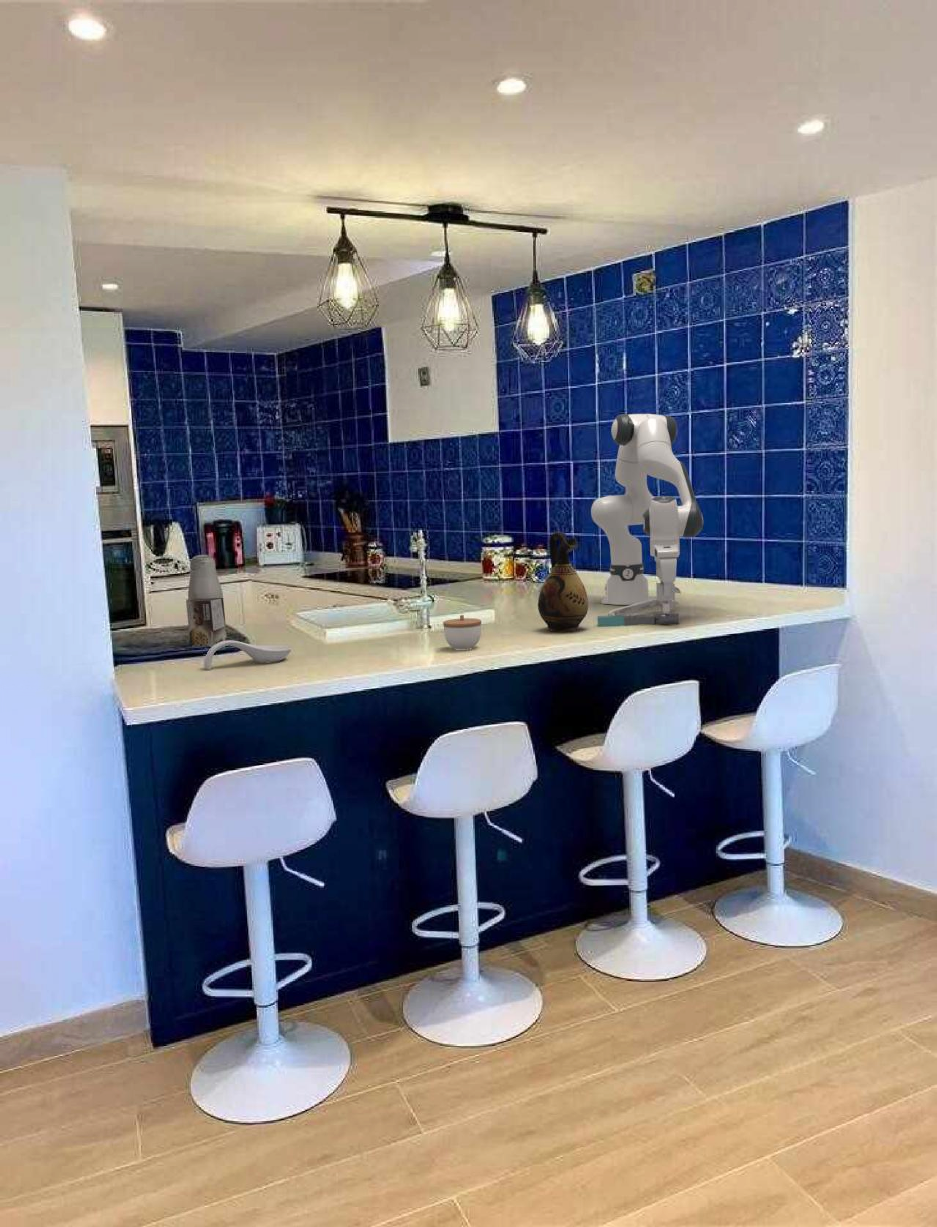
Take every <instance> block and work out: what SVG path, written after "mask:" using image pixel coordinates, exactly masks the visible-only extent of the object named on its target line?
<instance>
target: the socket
mask: <svg viewBox="0 0 937 1227" xmlns="http://www.w3.org/2000/svg"><path fill="white" fill-rule="evenodd" d="M675 587H676V584H675V582H674V583H671V588H670V596H665V595H664V584H663V583H661V582H657V583H656V587H655V588H656V597H657V600H658V601H676V593H675Z"/></svg>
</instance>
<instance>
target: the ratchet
mask: <svg viewBox="0 0 937 1227" xmlns="http://www.w3.org/2000/svg"><path fill="white" fill-rule="evenodd" d="M661 609H662V611H659V612H658V611H657V612H654V613H652V614H648V615H647V614H646V615H643V614H642V615H628V616H623V615H615V614H614V615H609V616H608V615H597V618H596V619H597V627H621V626H620V625H624V626H639V625H638V624H652V625H655V624H662V625H661V626H670V625H669V624H676V625H678V624H680V612H675V611H671V609H670V604H662V608H661Z"/></svg>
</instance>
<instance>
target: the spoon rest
mask: <svg viewBox="0 0 937 1227" xmlns="http://www.w3.org/2000/svg"><path fill="white" fill-rule="evenodd" d="M225 646H228V647H230V646H231V647H234V648H237V649H239V650H241V651H242V652H243V653H245V654H246V655H248V656H249V657H250V658H251V659H252V660H254V661H255V662H256V663H258V662H261V663H260V664H268V663H267V662H273V663H277V662H280V661H283V660H284V659H286V657H288V656H289V655H290V653H291V652H292V648H291V647H289V646H284V645H261V644H260V645H257V644H250V643H246V642H242V641H237V640H232V639H231V640H228V639H227V641H222V642H219V643H217V644H215V645H214V646H212V647H211V648H210V649H209V651H208V652H207V654H205V657H204V661H203V667H204V669H206V670H208V671H210V670H212V666H213V665H212V661H213V660H212V659H213V657H214V653H215V652H216V651H217V650H219V649H220V648H222V647H225Z"/></svg>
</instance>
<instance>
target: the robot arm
mask: <svg viewBox="0 0 937 1227" xmlns="http://www.w3.org/2000/svg"><path fill="white" fill-rule="evenodd" d="M610 432H611V436H612V440H613V442H614V443H615V444H617V445H618V446H619V447H618V451H617V456H616V457H617V459H616V464H615V471H614V479H615V480H616V482H617V483H618V484H619V485H620V486H621V487H624V488H625V493H624V494H619V495H607V496H606V495H605V496H604V497H600V498H597V499H595V500H594V501H593V503H592V505H591V509H590V514H591V516H590V517H591V519H592V521H593V522H594V523H595V524H596V525H597V526H598V527H599V528H601V530H602V531H603V532H604V533H605V535H606V537H607V540H608V542H609V549H610V565H609V574H610V577H609V578H607V580H606V583H605V585H604V590H605V595H606V596H605V597H604V598H603V599H602V600H601V604H603V605H604V604H606V605H618V606H619V605H620V606H621V605H624V606H629V605H633V604H636V603H640V602H644V601H647V600H651V599H654V598H653V597H650V595H649V594H650V593H649V579H648V578H647V577H645V575H644V572H645V571H644V569H645V568H644V563H643V552H642V549H643V548H642V547H643V546H642V542H641V541H640V539H639V538H637V537H636V536H634V535H631V533H630V531H629V528H628V526H637V525H638V526H639V525H642V526H643V528H642V532H644V534H646V535H647V536H648V537H650V539H649V547H650V548H649V552H650V554H649V555H650V556H651V557H654V562H655V571H656V572H655V574H656V577H657V578H658V579H659V580H660V582H659V583H663V584H664V595H665V596H670V588H671V583H674V584H675V582H676V578H677V566H678V564H677V563H678V562H677V561H678V559H677V558H679V556H680V554H681V552H680V551H681V550H680V547H681V546H680V537H681V538H695V537H696V536H697V535H698V534H699V533H701V531H702V530H703V526H704V517H703V513H702V511H701V509H700V507H699V504H698V502H697V499H696V496H695V492H694V490H693V486H692V482H691V480H690V479H691V478H690V476H689V474H688V471H687V468H686V466H685V464H684V462H683V461H681V460H678V458H676V456H675V455H674V453H673V450H672V449H673V448H672V444H674V443H675V441H676V438H677V436H678V424H677V421H676V419H675V418H674V417H672V416H669V415H665V414H663V415H661V414H654V413H631V414H628V413H622V414H618V415H616V417H615V418H614V419H613V422H612V424H611V431H610ZM648 476H650V477H652V478H654V479H659V480H662V481H666V482H668V483H671V484H672V485H674V486H675V487H676V489H677V492H678V495H679V500H680V502H681V505H678V503H677V498H675V497H674V496H668V495H660V496H654V495H653V494H652V493H651V492H650V489H649V488H648V484H647V483H648V480H647V478H648Z"/></svg>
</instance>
